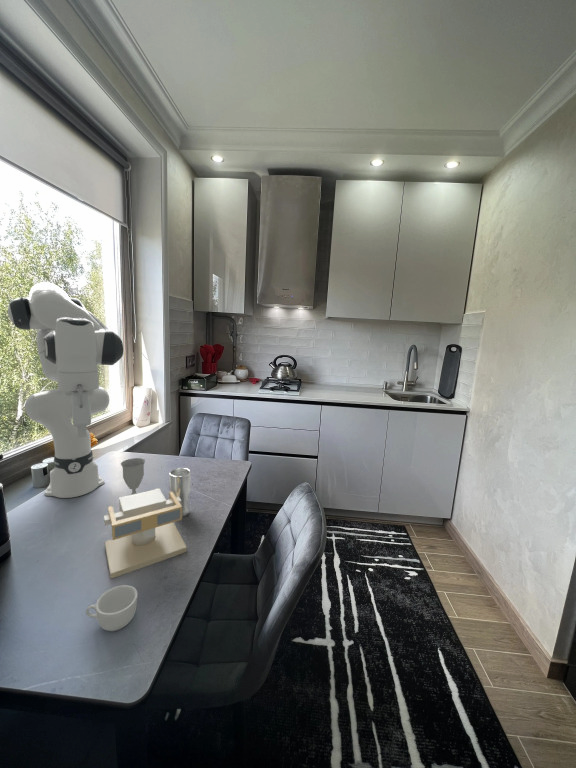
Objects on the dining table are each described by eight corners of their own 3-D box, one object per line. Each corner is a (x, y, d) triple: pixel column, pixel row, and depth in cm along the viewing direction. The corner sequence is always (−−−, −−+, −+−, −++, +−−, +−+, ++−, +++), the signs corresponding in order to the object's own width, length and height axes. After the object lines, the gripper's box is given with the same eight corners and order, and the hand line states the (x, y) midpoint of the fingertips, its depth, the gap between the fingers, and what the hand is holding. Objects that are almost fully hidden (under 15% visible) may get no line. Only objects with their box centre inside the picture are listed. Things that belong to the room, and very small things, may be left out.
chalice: (122, 519, 102) (120, 468, 99) (122, 509, 108) (120, 459, 105) (147, 515, 105) (145, 464, 102) (145, 504, 111) (144, 456, 108)
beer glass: (184, 520, 104) (184, 478, 101) (165, 516, 105) (164, 475, 103) (194, 509, 110) (194, 469, 108) (176, 505, 112) (176, 466, 109)
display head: (103, 546, 90) (101, 501, 87) (174, 525, 101) (173, 485, 98) (109, 579, 78) (107, 528, 76) (187, 551, 90) (187, 506, 87)
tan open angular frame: (108, 520, 86) (108, 506, 85) (172, 503, 95) (172, 491, 95) (113, 540, 78) (112, 525, 77) (182, 519, 88) (182, 506, 87)
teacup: (141, 603, 72) (141, 582, 71) (132, 634, 65) (131, 612, 64) (93, 608, 70) (92, 587, 69) (78, 642, 63) (77, 619, 62)
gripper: (96, 388, 74) (99, 444, 76) (90, 375, 90) (93, 421, 92) (63, 390, 70) (67, 448, 72) (63, 376, 86) (67, 424, 89)
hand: (81, 433), depth 83 cm, fingers open, 4 cm apart
